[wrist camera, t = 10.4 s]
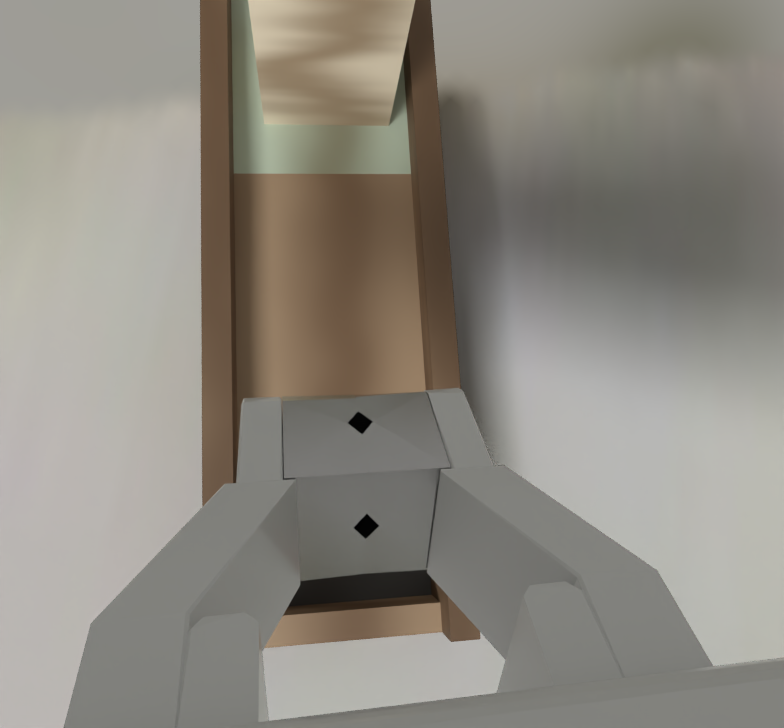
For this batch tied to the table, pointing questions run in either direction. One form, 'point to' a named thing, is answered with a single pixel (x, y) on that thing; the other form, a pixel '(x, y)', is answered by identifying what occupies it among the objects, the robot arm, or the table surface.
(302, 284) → the walled track
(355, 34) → the birch block
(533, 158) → the table surface
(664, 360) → the table surface
